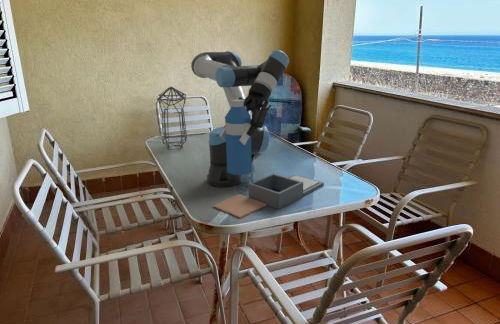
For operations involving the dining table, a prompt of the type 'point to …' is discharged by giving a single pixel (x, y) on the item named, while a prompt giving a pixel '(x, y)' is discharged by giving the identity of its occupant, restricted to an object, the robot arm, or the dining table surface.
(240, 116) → the water bottle
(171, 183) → the dining table surface
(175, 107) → the geometric lantern
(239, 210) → the terracotta tile
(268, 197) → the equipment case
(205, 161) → the dining table surface
